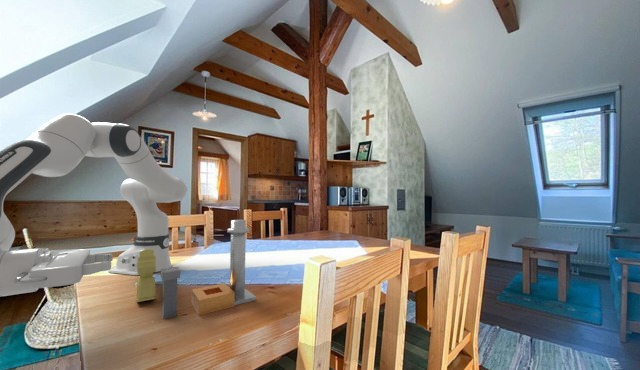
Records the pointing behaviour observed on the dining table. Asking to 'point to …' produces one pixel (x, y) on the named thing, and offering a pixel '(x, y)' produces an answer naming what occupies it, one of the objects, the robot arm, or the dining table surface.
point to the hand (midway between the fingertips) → (112, 261)
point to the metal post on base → (236, 294)
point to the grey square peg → (169, 291)
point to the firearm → (146, 276)
